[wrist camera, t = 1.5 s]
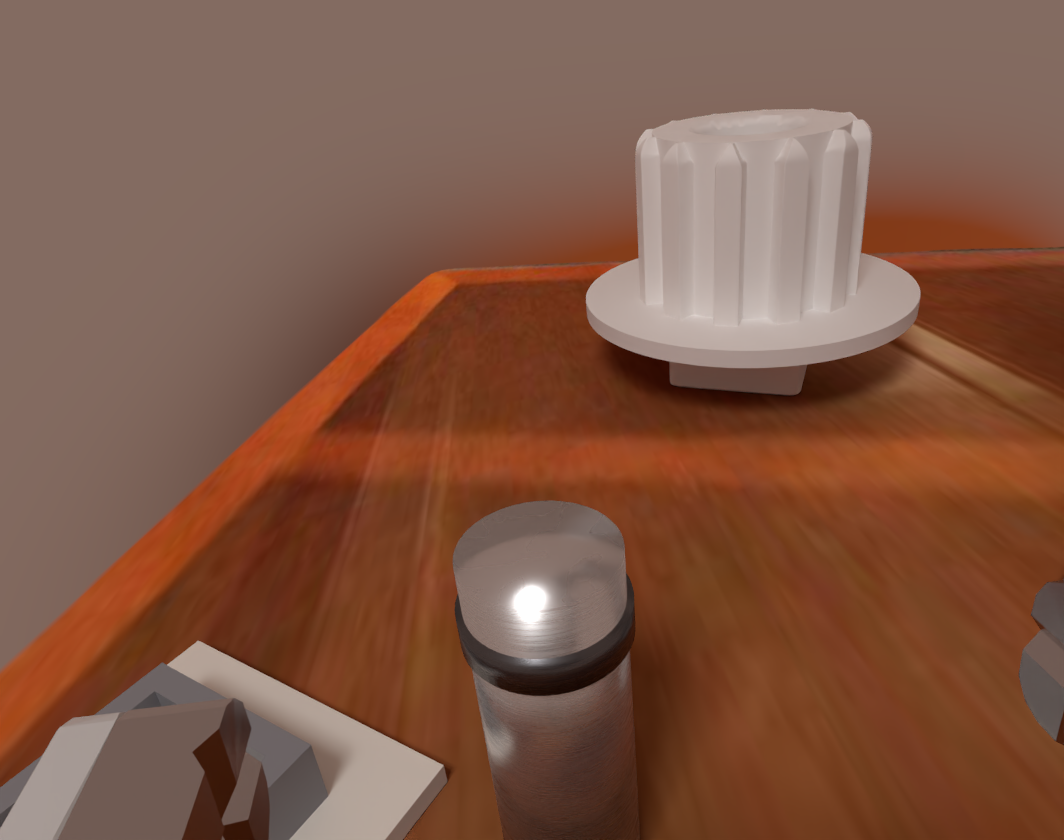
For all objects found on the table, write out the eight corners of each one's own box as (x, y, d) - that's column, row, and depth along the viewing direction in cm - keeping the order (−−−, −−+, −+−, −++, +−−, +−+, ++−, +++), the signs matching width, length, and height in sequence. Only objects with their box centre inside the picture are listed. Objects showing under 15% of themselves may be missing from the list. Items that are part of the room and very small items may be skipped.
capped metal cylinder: (548, 763, 32) (511, 482, 26) (669, 820, 30) (661, 521, 23) (474, 876, 29) (407, 579, 22) (604, 953, 26) (573, 639, 19)
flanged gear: (907, 318, 70) (938, 90, 61) (909, 460, 50) (956, 153, 41) (636, 306, 79) (629, 108, 70) (547, 421, 59) (521, 165, 50)
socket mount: (204, 654, 40) (180, 595, 38) (447, 781, 32) (431, 714, 30) (-156, 943, 29) (-216, 878, 27) (82, 1254, 21) (21, 1192, 19)
